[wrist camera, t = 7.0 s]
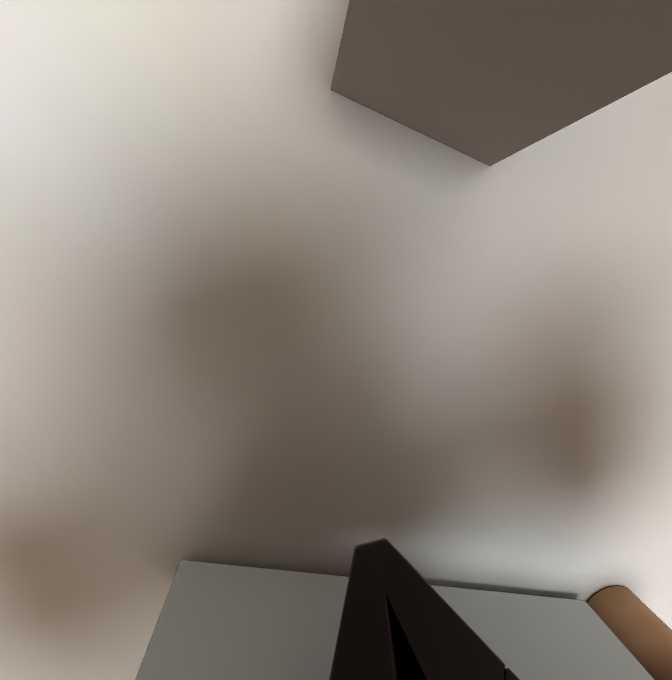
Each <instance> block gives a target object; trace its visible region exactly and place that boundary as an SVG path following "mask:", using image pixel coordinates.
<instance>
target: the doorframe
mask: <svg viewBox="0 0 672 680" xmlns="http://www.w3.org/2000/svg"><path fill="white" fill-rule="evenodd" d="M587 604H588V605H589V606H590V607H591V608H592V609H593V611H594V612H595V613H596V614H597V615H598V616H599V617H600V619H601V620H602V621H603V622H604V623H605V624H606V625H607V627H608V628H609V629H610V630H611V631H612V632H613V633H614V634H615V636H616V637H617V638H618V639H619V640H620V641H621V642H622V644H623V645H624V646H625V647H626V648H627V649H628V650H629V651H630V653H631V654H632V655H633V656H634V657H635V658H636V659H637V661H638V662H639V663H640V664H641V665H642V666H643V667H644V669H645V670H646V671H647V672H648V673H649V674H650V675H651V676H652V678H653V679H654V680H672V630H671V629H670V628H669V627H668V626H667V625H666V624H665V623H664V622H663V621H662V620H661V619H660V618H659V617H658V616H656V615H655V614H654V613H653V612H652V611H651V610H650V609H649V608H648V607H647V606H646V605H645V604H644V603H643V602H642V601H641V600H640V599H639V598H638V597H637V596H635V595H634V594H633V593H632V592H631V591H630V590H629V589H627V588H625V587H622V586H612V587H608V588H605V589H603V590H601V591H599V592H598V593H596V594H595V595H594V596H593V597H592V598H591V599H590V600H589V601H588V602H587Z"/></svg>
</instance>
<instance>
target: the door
mask: <svg viewBox="0 0 672 680" xmlns="http://www.w3.org/2000/svg"><path fill="white" fill-rule="evenodd" d="M348 579H349V577H345V576H336V575H326V574H316V573H306V572H296V571H286V570H276V569H266V568H256V567H246V566H236V565H226V564H217V563H207V562H197V561H187V560H181V561H180V564H179V566H178V569H177V572H176V574H175V577H174V579H173V582H172V585H171V587H170V590H169V593H168V595H167V598H166V600H165V603H164V606H163V608H162V611H161V614H160V616H159V619H158V621H157V624H156V627H155V629H154V632H153V635H152V637H151V640H150V642H149V645H148V648H147V650H146V653H145V656H144V658H143V661H142V663H141V666H140V669H139V671H138V674H137V677H136V679H135V680H329V677H330V672H331V667H332V662H333V657H334V651H335V646H336V641H337V636H338V631H339V626H340V621H341V615H342V610H343V605H344V600H345V595H346V590H347V584H348ZM431 586H432V587H433V588H434V589H435V591H436V592H437V593H438V594H439V595H440V596H441V597H442V598H443V599H444V600H445V601H446V602H447V603H448V604H449V605H450V606H451V607H452V608H453V609H454V611H455V612H456V613H457V614H458V615H459V616H460V617H461V618H462V619H463V620H464V621H465V622H466V623H467V624H468V625H469V626H470V627H471V628H472V630H473V631H474V632H475V633H476V634H477V635H478V636H479V637H480V638H481V639H482V640H483V641H484V642H485V643H486V644H487V645H488V646H489V647H490V649H491V650H492V651H493V652H494V653H495V654H496V655H497V656H498V657H499V658H500V659H501V660H502V661H503V662H504V663H505V666H506V668H510V669H511V670H512V671H513V672H514V674H515V675H516V676H517V677H518V678H519V679H520V680H654V679H653V678H652V676H651V675H650V674H649V673H648V672H647V671H646V670H645V669H644V667H643V666H642V665H641V664H640V663H639V662H638V661H637V659H636V658H635V657H634V656H633V655H632V654H631V653H630V651H629V650H628V649H627V648H626V647H625V646H624V645H623V644H622V642H621V641H620V640H619V639H618V638H617V637H616V636H615V634H614V633H613V632H612V631H611V630H610V629H609V628H608V627H607V625H606V624H605V623H604V622H603V621H602V620H601V619H600V617H599V616H598V615H597V614H596V613H595V612H594V611H593V609H592V608H591V607H590V606H589V605H588V604H587V603H586V602H585V601H583V600H573V599H564V598H554V597H544V596H534V595H524V594H514V593H504V592H494V591H484V590H474V589H464V588H455V587H445V586H435V585H431Z"/></svg>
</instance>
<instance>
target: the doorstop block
mask: <svg viewBox="0 0 672 680" xmlns="http://www.w3.org/2000/svg"><path fill="white" fill-rule="evenodd" d="M670 72H672V0H350V2H349V6H348V11H347V16H346V20H345V25H344V30H343V34H342V39H341V44H340V48H339V53H338V58H337V63H336V67H335V72H334V77H333V81H332V86H331V90H332V91H334V92H337V93H339V94H341V95H343V96H345V97H347V98H349V99H351V100H353V101H355V102H357V103H359V104H362V105H364V106H366V107H368V108H370V109H372V110H374V111H376V112H378V113H380V114H382V115H385V116H387V117H389V118H391V119H393V120H395V121H397V122H399V123H401V124H403V125H405V126H407V127H410V128H412V129H414V130H416V131H418V132H420V133H422V134H424V135H426V136H428V137H430V138H433V139H435V140H437V141H439V142H441V143H443V144H445V145H447V146H449V147H451V148H453V149H455V150H458V151H460V152H462V153H464V154H466V155H468V156H470V157H472V158H474V159H476V160H478V161H481V162H483V163H485V164H487V165H489V166H491V165H493V164H495V163H497V162H499V161H501V160H503V159H504V158H506V157H508V156H510V155H512V154H514V153H516V152H518V151H520V150H522V149H524V148H526V147H528V146H530V145H531V144H533V143H535V142H537V141H539V140H541V139H543V138H545V137H547V136H549V135H551V134H553V133H555V132H556V131H558V130H560V129H562V128H564V127H566V126H568V125H570V124H572V123H574V122H576V121H578V120H580V119H581V118H583V117H585V116H587V115H589V114H591V113H593V112H595V111H597V110H599V109H601V108H603V107H605V106H606V105H608V104H610V103H612V102H614V101H616V100H618V99H620V98H622V97H624V96H626V95H628V94H630V93H632V92H633V91H635V90H637V89H639V88H641V87H643V86H645V85H647V84H649V83H651V82H653V81H655V80H657V79H658V78H660V77H662V76H664V75H666V74H668V73H670Z"/></svg>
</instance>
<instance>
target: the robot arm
mask: <svg viewBox="0 0 672 680" xmlns="http://www.w3.org/2000/svg"><path fill="white" fill-rule="evenodd" d="M329 680H520V679H519V678H518V677H517V676H516V675H515V674H514V672H513V671H512V670H511V669H510V668H506V666H505V663H504V662H503V661H502V660H501V659H500V658H499V657H498V656H497V655H496V654H495V653H494V652H493V651H492V650H491V649H490V647H489V646H488V645H487V644H486V643H485V642H484V641H483V640H482V639H481V638H480V637H479V636H478V635H477V634H476V633H475V632H474V631H473V630H472V628H471V627H470V626H469V625H468V624H467V623H466V622H465V621H464V620H463V619H462V618H461V617H460V616H459V615H458V614H457V613H456V612H455V611H454V609H453V608H452V607H451V606H450V605H449V604H448V603H447V602H446V601H445V600H444V599H443V598H442V597H441V596H440V595H439V594H438V593H437V592H436V591H435V589H434V588H433V587H432V586H431V585H430V584H429V583H428V582H427V581H426V580H425V579H424V578H423V577H422V576H421V575H420V574H419V573H418V572H417V570H416V569H415V568H414V567H413V566H412V565H411V564H410V563H409V562H408V561H407V560H406V559H405V558H404V557H403V556H402V555H401V554H400V553H399V551H398V550H397V549H396V548H395V547H394V546H393V545H392V544H391V543H390V542H389V541H388V540H387V539H385V538H383V539H379V540H375V541H372V542H368V543H364V544H361V545H357V546H356V547H355V549H354V553H353V559H352V564H351V569H350V574H349V579H348V584H347V590H346V595H345V600H344V605H343V610H342V615H341V621H340V626H339V631H338V636H337V641H336V646H335V651H334V657H333V662H332V667H331V672H330V677H329Z"/></svg>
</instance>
